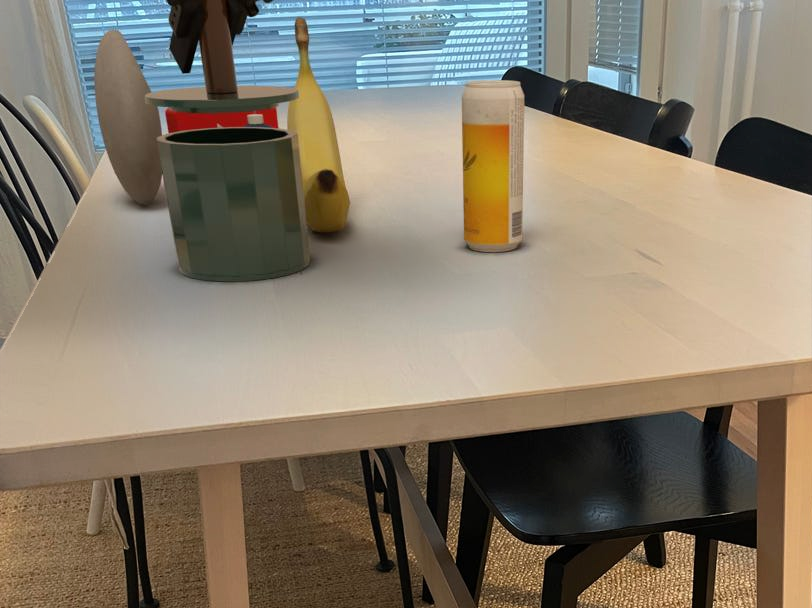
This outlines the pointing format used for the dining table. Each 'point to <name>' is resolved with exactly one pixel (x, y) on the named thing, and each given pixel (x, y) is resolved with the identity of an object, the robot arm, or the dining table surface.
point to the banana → (317, 146)
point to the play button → (215, 120)
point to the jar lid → (219, 75)
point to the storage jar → (235, 202)
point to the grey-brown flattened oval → (127, 118)
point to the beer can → (493, 164)
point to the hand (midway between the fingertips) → (197, 59)
